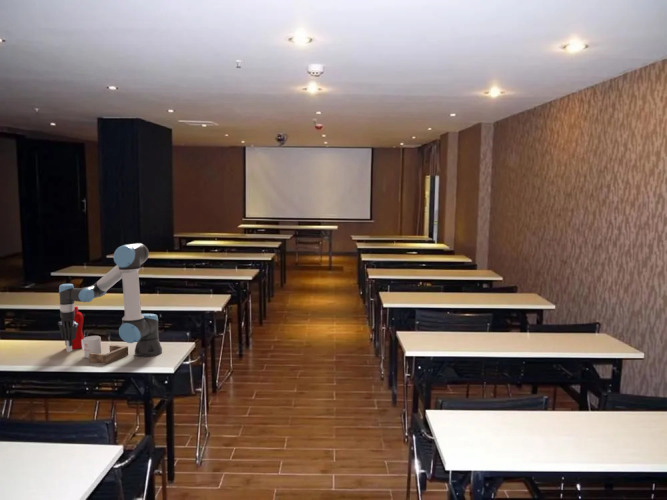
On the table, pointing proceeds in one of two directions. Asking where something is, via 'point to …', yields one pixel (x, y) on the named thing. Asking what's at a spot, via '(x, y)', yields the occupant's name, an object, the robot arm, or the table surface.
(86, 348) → the mug
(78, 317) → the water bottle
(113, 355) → the dock
